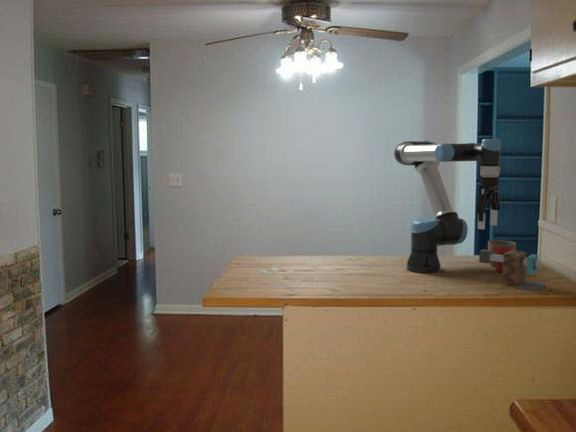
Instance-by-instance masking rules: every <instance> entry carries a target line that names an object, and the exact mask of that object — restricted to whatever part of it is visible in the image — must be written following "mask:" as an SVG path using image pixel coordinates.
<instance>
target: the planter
mask: <svg viewBox="0 0 576 432" xmlns="http://www.w3.org/2000/svg"><path fill="white" fill-rule="evenodd" d="M501 244H504V245H511V248H512V250H513V251H516V250H517V249H516V247H517V243H516V242H515V241H512V240H502V239H500V240H498V239H494V240H488V241H487V250H493V252H492V254H497V248H498V245H501ZM489 264H490V265H491V266H493V267H496V261H492V262H491V263H489Z"/></svg>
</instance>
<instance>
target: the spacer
mask: <svg viewBox="0 0 576 432" xmlns="http://www.w3.org/2000/svg"><path fill="white" fill-rule="evenodd" d="M526 258H527V265H526V268H525V275H530V276H532V275H534V274H535V273H537V272H538V266H533V261H534V260H536V259H537V260H539V254H537V253H536V254H535V253H532V254H530V255H528V256H526Z"/></svg>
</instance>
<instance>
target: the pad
mask: <svg viewBox="0 0 576 432" xmlns="http://www.w3.org/2000/svg"><path fill="white" fill-rule="evenodd" d="M546 286H547V283H543V282H542V283H541V282H535V281H530V280H529V281H528V280H526V281H525V282H524V283H523V284H521V285H519V286H517V287H516V288H517V289H518V290H519V289H520V290H526V291H531V292H539V291H540V290H541V289H543V288H544V287H546Z"/></svg>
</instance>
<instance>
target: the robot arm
mask: <svg viewBox="0 0 576 432" xmlns="http://www.w3.org/2000/svg"><path fill="white" fill-rule="evenodd" d="M501 143H502V142H501V139H500V138H483V139H481V143H479V142H478V143H477V142H476V143H475V142H474V143H473V142H469V143H437V142H435V141H432V140H431V141H430V140H421V141H420V140H418V141H415V140H413V141H411V140H409V141H408V140H407V141H402V142H401V143H399V144H397V146H396V147H395V149H394V152H393V154H394V158H395V161H396V162H397V163H398V164H400V165H403V166H414V169H415V171H416V172H417V173H419V174H420V176H421V180H422V182H423V185H424V189H425V191H426V194H427V198H428V200H429V204H430V207H431V210H432V212H433V215H434V217H431V216H430V217H429V216H428V217H420V218H416V219H414V220H413V221H412V222H411V228H410V232H411V237H410V238H411V239H410V243H411V244H410V254H409V256H408V260H407V263H406V270H407V271H410V272H414V273H421V274H424V273H425V274H429V273H439V272H440V271H441V270H442V269H441V261H440V259H439V255H438V246H439V247H440V246H454V245H459V244H462V243H464V241H465V240H466V239H467V235H468V231H469V230H468V223H467V222H466V220H464V219H463V218H460V217H459V215H458V212H457V211H454V210H453V208H452V205H451V202H450V199H449V196H448V193H447V191H446V188H445V184H444V182H443V179H442V176H441V173H440V171H439V166H440V163H441V162H442V163H451V162H480V169H479V171H480V173H479V175H480V177H479V186H481V187H483V188H480V190H479V196H478V200H477V204H476V209H475V213H476V214H477V229H478V230H485V229H486V213H485V212H486V210H487V207H488V204H489V205H490V207H491V209H490V218H489V219H490V220H489V225H490V226H498V211H500V210H501V204H500V199H499V186H500V177H499V176H500V172H501V168H500V167H501V165H500V164H501V153H502V151H501V150H502V148H501V146H502V144H501Z"/></svg>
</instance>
